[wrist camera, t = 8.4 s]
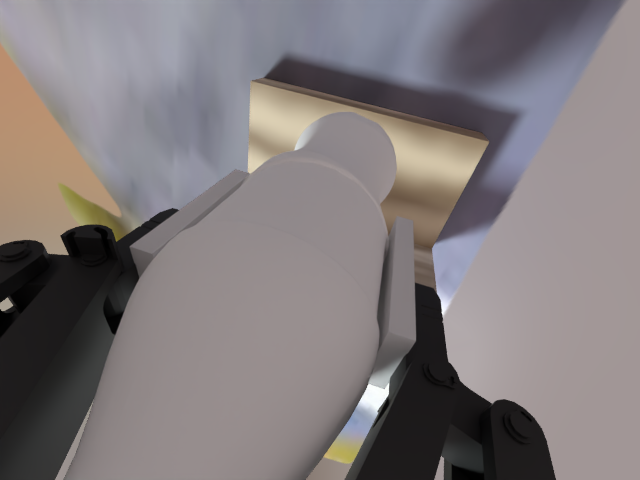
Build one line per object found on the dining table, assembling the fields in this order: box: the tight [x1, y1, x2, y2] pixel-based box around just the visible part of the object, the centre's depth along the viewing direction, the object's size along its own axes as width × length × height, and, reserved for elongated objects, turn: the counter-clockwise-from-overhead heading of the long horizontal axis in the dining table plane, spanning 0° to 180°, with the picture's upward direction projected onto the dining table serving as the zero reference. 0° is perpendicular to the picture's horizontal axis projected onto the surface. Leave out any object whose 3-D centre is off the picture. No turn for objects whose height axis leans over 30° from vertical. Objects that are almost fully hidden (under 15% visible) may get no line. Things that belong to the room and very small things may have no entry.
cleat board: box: [248, 78, 489, 293], centre depth 28 cm, size 14×22×11 cm, turn 80°
